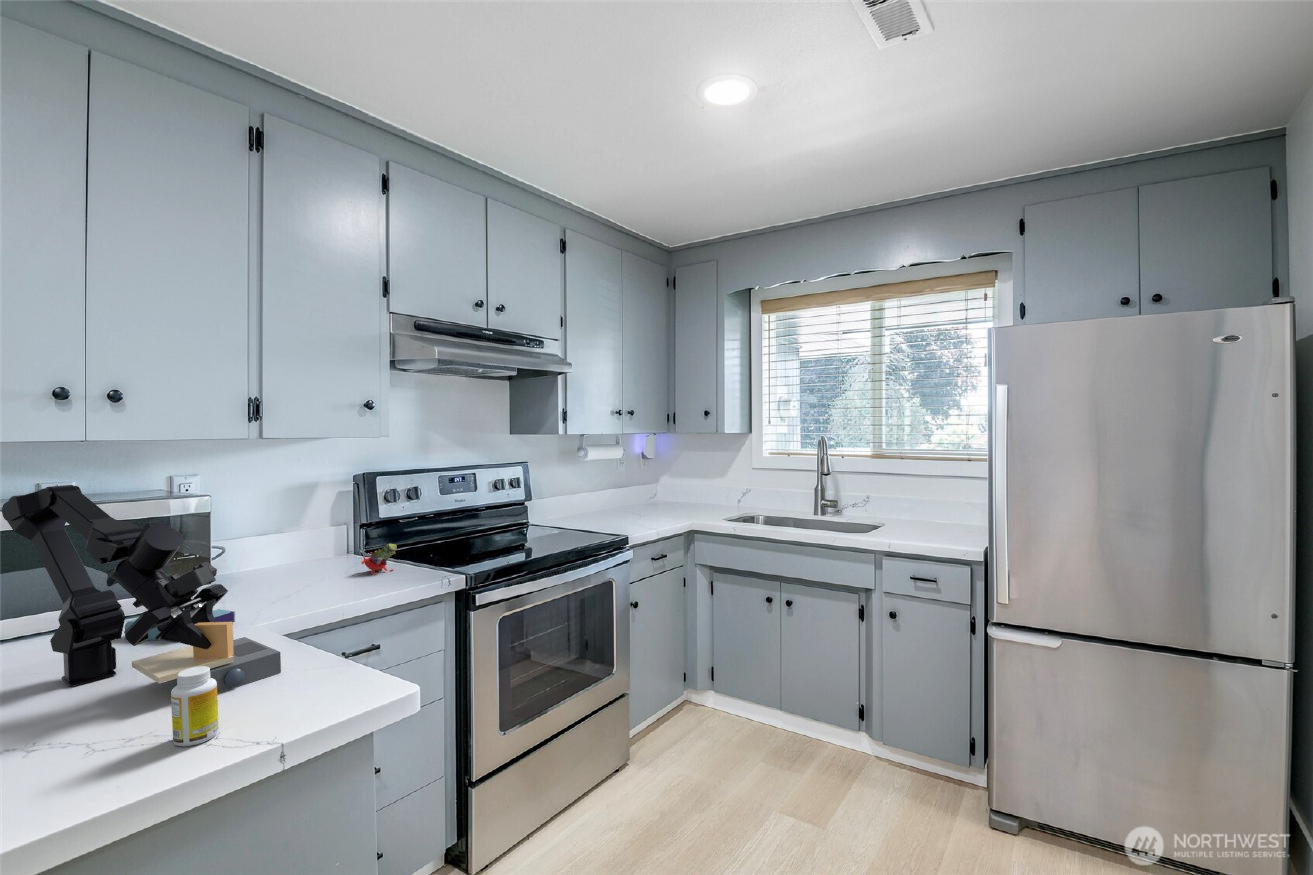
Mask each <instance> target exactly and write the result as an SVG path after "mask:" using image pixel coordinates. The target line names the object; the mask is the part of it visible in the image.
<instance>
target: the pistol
mask: <svg viewBox="0 0 1313 875" xmlns="http://www.w3.org/2000/svg"><path fill="white" fill-rule="evenodd" d="M212 613H213V616H214V619H215V621H216V622H233V623H235V622H236V611H235V610H226V609H222V608H221V609H218V608H217V609H215V610H212ZM136 620H137V618H134V619H131V620H128V621H126V623H124V630H123V634H124V635H125V631H126V630H127V629H128V628H129V627H130V626H131V625H132V624H133V623H134V622H135V621H136ZM159 633H160V632H159V631H158V628H157V627H156V628H153V629H151V630H150V631H149V632H148V639H147V640H146V641H157V640H156V639H155V637H156V636H157V635H158V634H159ZM158 641H161V642H169V641H168V640H163V639H159V640H158Z"/></svg>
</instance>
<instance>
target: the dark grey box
mask: <svg viewBox="0 0 1313 875" xmlns="http://www.w3.org/2000/svg"><path fill="white" fill-rule="evenodd" d="M233 650H234V655H232V656H234V662H232V663H228V664H225V665H222V666H218V667H215V668H211V669H210V678H213V679H215V680H216V682H217V694H219V693H222V692H226V691H229V690H231V689H234V688H237V687H238V688H239V687H240V686H243V685H247V684H251V683H253V682H257V681H261V680H263V679H266V678H268V677H272V676H275V675H274V674H276V675H279V674H282V661H281V651H280V650H277V649H275V648H272V647H270V646H267V645H266V644H265V645H264V644H263V643H260V642H258V641H255V640H253V639H251V638H249V637H245V636H243V637H239V638H236V639H233ZM278 673H279V674H278Z"/></svg>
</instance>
